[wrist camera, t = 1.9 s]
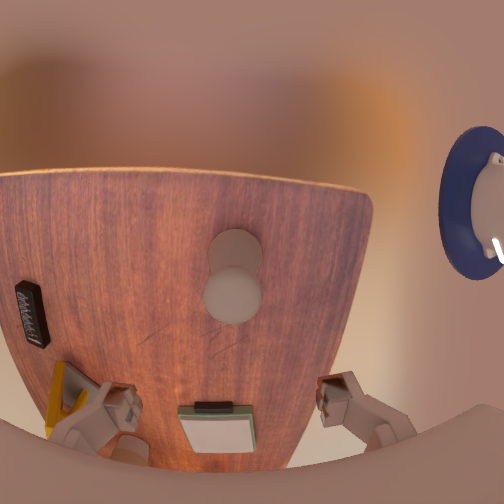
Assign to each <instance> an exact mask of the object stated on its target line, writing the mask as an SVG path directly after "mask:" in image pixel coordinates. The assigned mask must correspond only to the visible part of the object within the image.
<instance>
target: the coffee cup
mask: <svg viewBox="0 0 504 504" xmlns="http://www.w3.org/2000/svg"><path fill="white" fill-rule="evenodd" d="M148 454H149V445H148V444H147V443H146V442H145V441H143V440H142V439H140V438H137V437H135V436H131V435H122V436H120V438H119V440H118V442H117V444H116V447H115V449H114V450H113V452H112V454H111V456H110V458H109V459H110V460H114V461H119V462H124V463H129V464H134V465H140V466H146V467H147V466H148V462H147V461H148Z"/></svg>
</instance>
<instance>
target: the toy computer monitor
mask: <svg viewBox="0 0 504 504" xmlns="http://www.w3.org/2000/svg"><path fill="white" fill-rule="evenodd" d="M99 389H100V386H99V385H97V384H96V383H94V382H93V381H92V380H90V379H89V378H88V377H86V376H85V375H84V374H82V373H81V372H80V371H79V370H77V369H76V368H75V367H74V366H72V365H71V364H70V363H69V362H66V363H64V362H61V361H58V360H57V361H56V364H55V369H54V373H53V378H52V383H51V389H50V394H49V400H48V407H47V414H46V422H45V430H46V436H47V440H48V438H49V436H50V434H51V432H52V431H53V429H54V427H55V425H56V423H58V422H60V421H61V420H63V419H65V418H66V417H68V416H70V415H71V414H73V413H74V412H76V411H78V410H79V409H81V408H83V407H84V406H86V405H87V404H89V403H91V404H92V403H93V401H94V399H95V397H96V395H97V393H98V391H99ZM63 403H64V404H66V405H69V406H71V407H72V409H71V411H70V412H65V411H63V410H62V409H63Z"/></svg>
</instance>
